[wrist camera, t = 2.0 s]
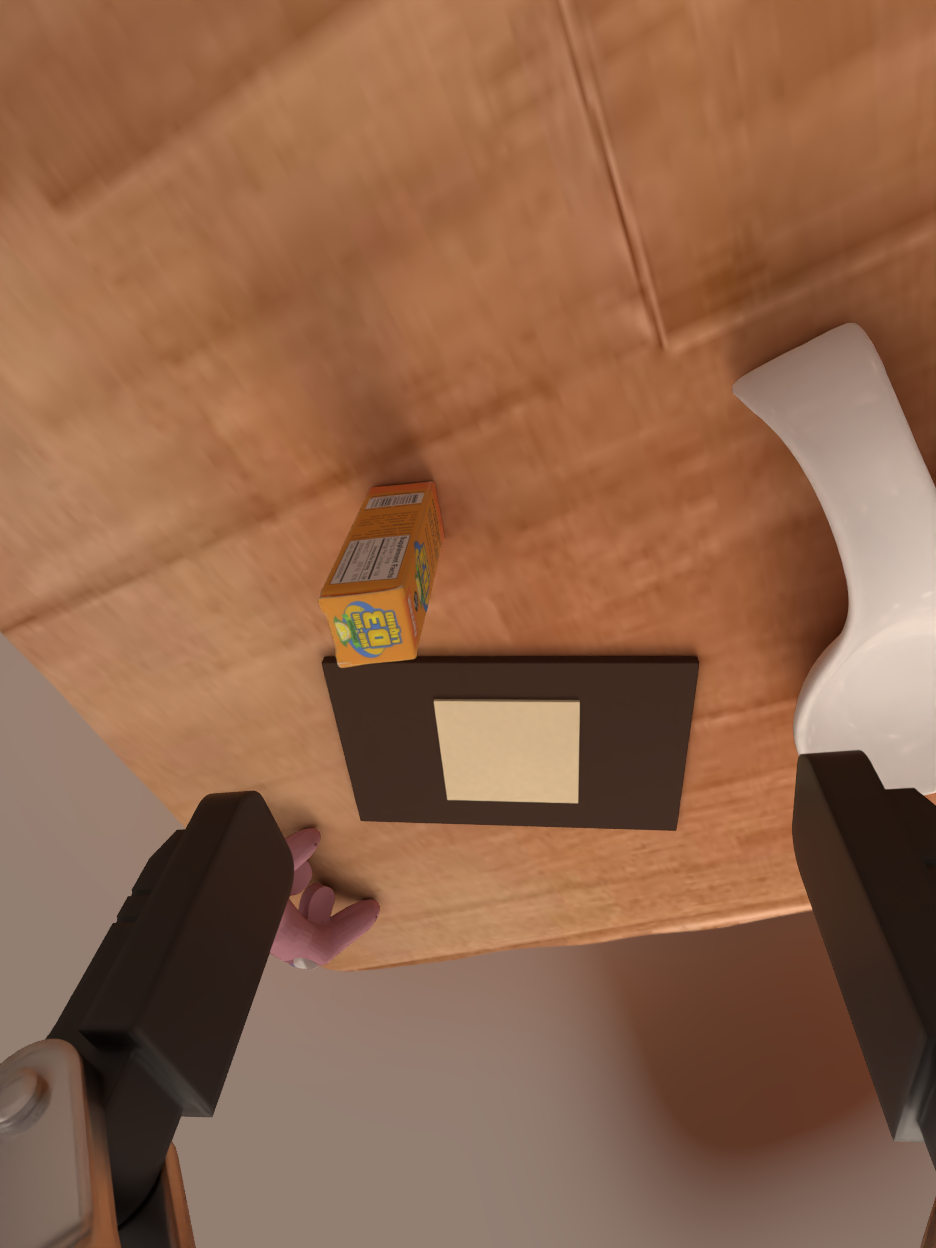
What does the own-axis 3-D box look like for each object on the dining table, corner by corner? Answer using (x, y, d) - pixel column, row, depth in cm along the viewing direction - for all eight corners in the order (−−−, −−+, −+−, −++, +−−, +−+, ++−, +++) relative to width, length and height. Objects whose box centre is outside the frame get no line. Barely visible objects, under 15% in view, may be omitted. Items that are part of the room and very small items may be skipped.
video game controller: (279, 812, 48) (208, 899, 44) (320, 824, 45) (247, 918, 41) (349, 894, 53) (290, 979, 49) (389, 910, 50) (330, 1002, 46)
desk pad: (362, 814, 45) (359, 824, 45) (324, 656, 38) (320, 665, 37) (675, 823, 43) (677, 834, 42) (697, 655, 35) (700, 665, 35)
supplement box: (452, 541, 33) (418, 668, 25) (383, 546, 34) (328, 673, 25) (441, 475, 31) (401, 590, 23) (368, 482, 32) (304, 597, 24)
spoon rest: (1051, 705, 35) (1153, 817, 29) (814, 777, 39) (860, 887, 33) (941, 261, 25) (1063, 295, 19) (637, 426, 29) (658, 495, 23)
